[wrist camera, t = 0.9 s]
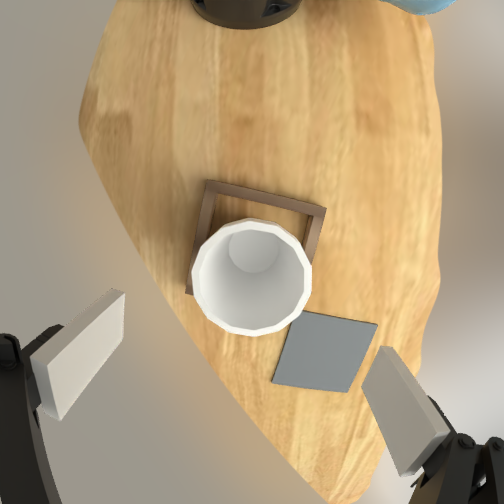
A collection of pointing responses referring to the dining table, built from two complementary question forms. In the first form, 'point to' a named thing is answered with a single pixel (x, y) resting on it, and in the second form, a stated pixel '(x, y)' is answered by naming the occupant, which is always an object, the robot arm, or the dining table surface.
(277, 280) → the foam cup
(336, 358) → the mat
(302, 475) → the dining table surface
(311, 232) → the frame
